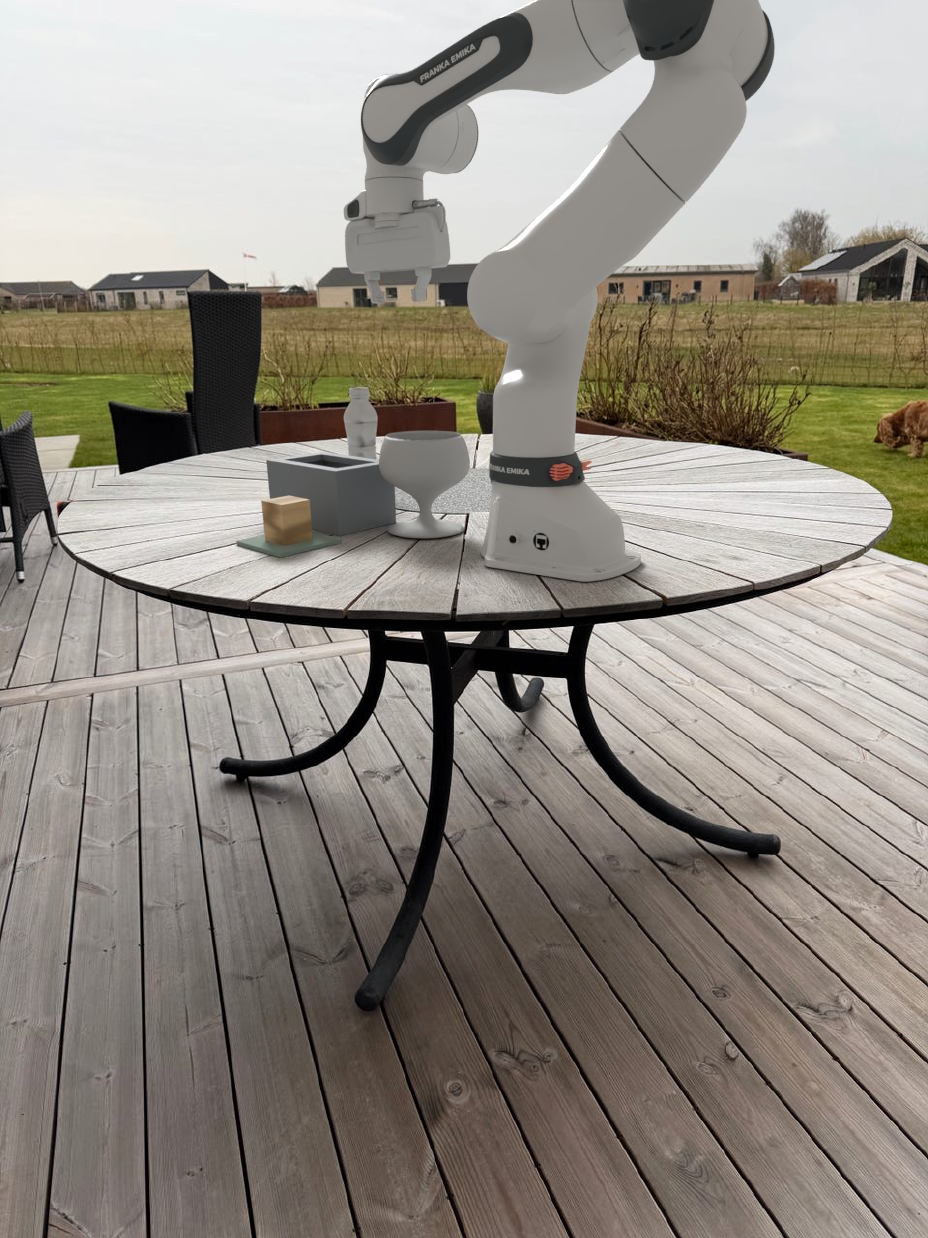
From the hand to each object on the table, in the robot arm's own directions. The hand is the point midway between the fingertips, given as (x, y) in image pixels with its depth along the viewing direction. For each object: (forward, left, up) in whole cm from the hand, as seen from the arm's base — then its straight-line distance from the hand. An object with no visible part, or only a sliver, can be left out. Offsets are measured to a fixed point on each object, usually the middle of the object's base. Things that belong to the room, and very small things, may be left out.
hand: (397, 302), depth 124 cm
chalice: (-11, +6, -34) cm, 37 cm away
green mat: (-1, +25, -34) cm, 42 cm away
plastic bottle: (+20, -8, -34) cm, 41 cm away
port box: (+6, +11, -34) cm, 36 cm away
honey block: (-1, +25, -34) cm, 42 cm away
